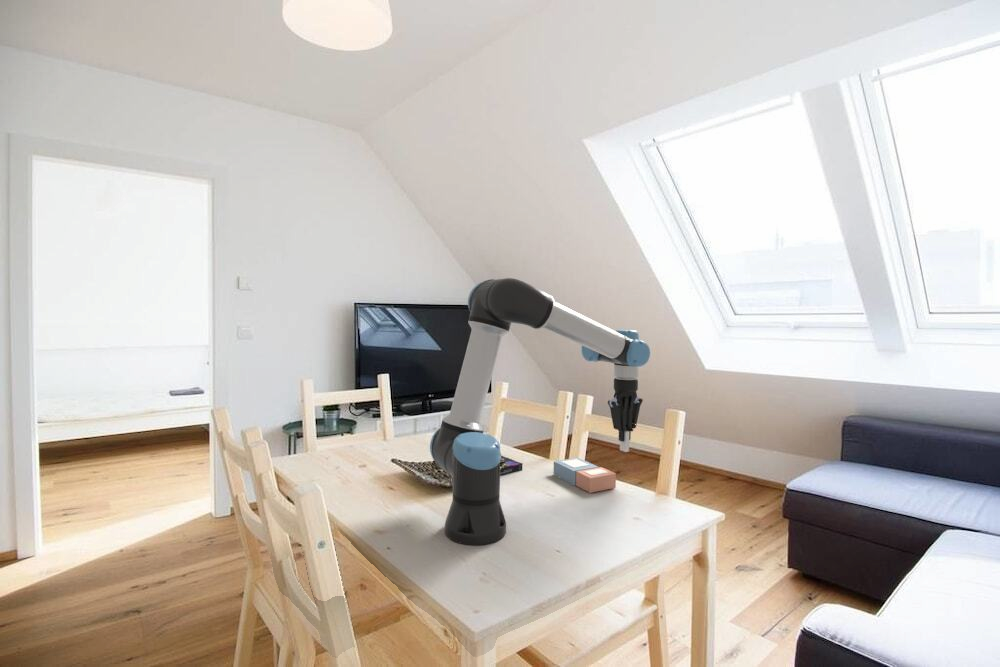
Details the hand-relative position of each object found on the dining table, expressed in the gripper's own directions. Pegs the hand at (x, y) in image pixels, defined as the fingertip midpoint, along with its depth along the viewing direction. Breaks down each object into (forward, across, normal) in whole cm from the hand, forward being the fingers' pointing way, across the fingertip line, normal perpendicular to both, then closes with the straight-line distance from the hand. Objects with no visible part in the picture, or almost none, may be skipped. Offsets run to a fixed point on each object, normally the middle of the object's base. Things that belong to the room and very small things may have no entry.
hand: (624, 450), depth 161 cm
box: (+11, +35, -29) cm, 46 cm away
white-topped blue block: (+10, +12, -10) cm, 18 cm away
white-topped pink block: (+10, +12, 0) cm, 15 cm away
